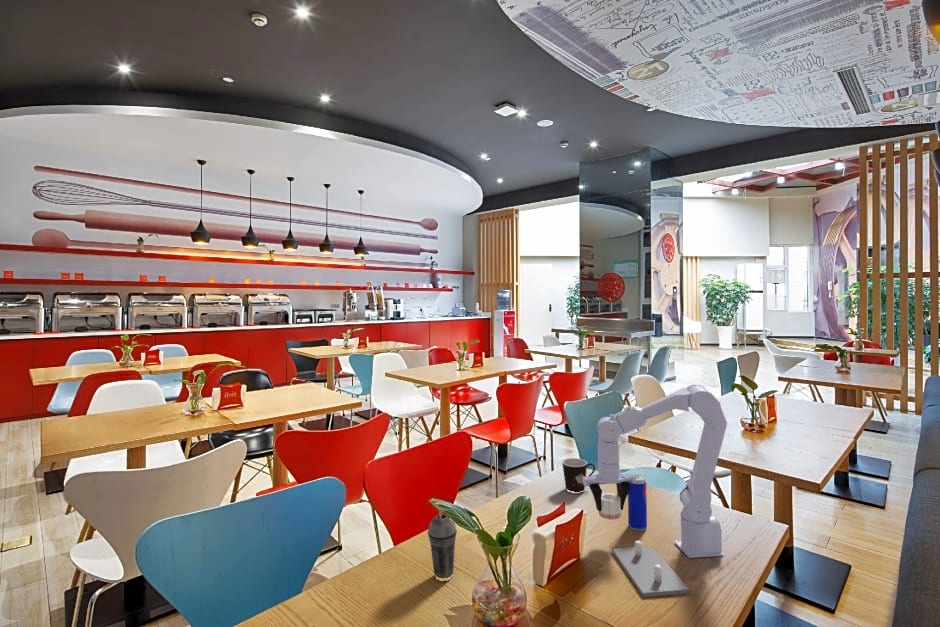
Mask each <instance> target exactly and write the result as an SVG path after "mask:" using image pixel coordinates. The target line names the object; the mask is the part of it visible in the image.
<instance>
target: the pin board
mask: <svg viewBox="0 0 940 627" xmlns="http://www.w3.org/2000/svg"><path fill="white" fill-rule="evenodd" d="M611 552H612V554H613V555H614V557H615V558H616V560H617V561H618V563H619V565H621V567H622V569H623V570H624V572H625V573H626V574H627V577H629V579H630V580H631V582H632V583H633V584H634V585H633V586H635V588H636V589H637V591H638V592H639V593H640V595H641V596H642V598H647V597H648V598H651V597H652V598H653V597H660V596H661V597H662V596H663V597H664V596H674V595H686V594H687V595H688V594H690V588H689V587H688V586H687V585H686V584H685V583H684V581H683V580H682V579H681V578H680V577H679V576H678V575H677V573H676V572H675V570H673V569H672V568H671V566H670V565H669V564H668V563H667V562H666V561H665V559H663V557H662V556H661V555H660V554H659V552H658V551H657V550H656V549H655V548H654V547H653V546H652V545H648V546H642V542H641V541H640V540H635V541H634V546H633V547H622V548H621V547H620V548H612V549H611Z"/></svg>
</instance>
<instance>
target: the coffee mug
mask: <svg viewBox="0 0 940 627" xmlns="http://www.w3.org/2000/svg"><path fill="white" fill-rule="evenodd" d="M561 463H562V470H563V476H564V483H565V484H564V485H565V489H566V488H567V489H568V490H570V491H574V492H580V491H583V490H584V489H585V488H586V486H584V485H583V477H587V468H588V467H589V466H592V471H591V473H589V475H588V476H592V475H594V473H595V471H596V466H595V465H594V464H593V463H588V461H586V459H585V460H584V459H581V458H577V457H576V458H575V457H573V458H572V457H571V458H565V459H563V460H562V462H561ZM584 491H585V490H584Z"/></svg>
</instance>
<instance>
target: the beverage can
mask: <svg viewBox="0 0 940 627" xmlns="http://www.w3.org/2000/svg"><path fill="white" fill-rule="evenodd" d="M633 475H634V476H635V477H636V483H629V485H630V486H631V490H630V491H629V493H628V495H627V509H628V512H627V513H628V514H627V515H628V516H627V518H628V525H629V527H630V528H631V529H632V530H634V529H635V531H639V530H640V531H644V530H646V528H648V525H647V524H648V516H647V515H648V514H647V513H648V512H647V506H648V505H647V480H646V477H645V476H644V475H641V474H635V473H634V474H633Z"/></svg>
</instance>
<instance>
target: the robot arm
mask: <svg viewBox="0 0 940 627" xmlns="http://www.w3.org/2000/svg"><path fill="white" fill-rule="evenodd" d="M721 406H722V405H721V402H720V401H719V400H718V399H717V398H716V397H715V396H714V394H712V393H711V392H709V391H708V390H707V388H705V387H704V386H702V385H701V384H691V385H689V386H687V387H683V388H680V389H678V390H675V391H674V392H671V393H669V394H667V395H666V396H664V397H661V398H659V399H657V400H655V401H653V402H650V403H649V404H647V405H645V406H643V407H638V406H635V405H633V406H631V405H628V406H625V409H623V410H622V411H620V412H617V413H616V414H614V413H610V414H609V416H604V417H601V418H600V419H599V420H598V422H597V425H596V429H597V435H598V438H597V443H598V444H597V462H598V463H597V467H598V468H597V470H598V474H592V475H591V476H589V475H586V477H583V485H584V486H585V487H589V490H590V492H591V493H592V495H593V498H594V502H595V507H596V510H597V511H598V512H599V511H601V509H602V507H601V495H602V493H603V489H602V488H601V486H600V485H610V484H611V485H612V484H616V495H618V496H619V497H620V498H621V511H623V510H624V506H625V504H626V503H625V502H626V499H627V498H628V493H629V491H630V490H631V486H630V485H629V483H636V477H635V476H634V474H633V473H621V472H620V446H619V438H620V436H621V435H625V434H628V433H630V432H633V431H635V430H637V429H640V428H642V427H644V426H645V425H646V423H647V420H649V419H652V418H654V417H655V418H656V417H657V416H659V415H663V414H666V413H669V412H670V411H673V410H679V411H682V412H683V411H684V412H690V409H689V408H691V410H692V411H693V412H694V413H695V414H696V415H698V416H699V417H700V418H701V420H702V421H703V423H704V424H703V428H702V432H701V435H700V440H699V444H698V448H697V452H696V455H695V460H694V463H693V467H692V471H691V476H690V478H689V479H688V480H687V481H686V483H685V486H684V487H683V489H681V491H680V492H679V501H680V502H681V505H682V506H683V508H682V510H681V512H680V540H674V544H675V545H676V546H677V547H678V548H679V549H680V550H681V551H682V552H683V553H684V554H685V555H686V556H687V557H688V558H690V559H695V558H708V557H709V558H710V557H722V556H724V552H722V549H723V548H722V547H723V545H722V544H723V542H722V541H723V540H722V539H723V538H722V535H723V534H722V527H721V524H720V521H719V520H718V518H717V517H716V516H715V515H713V512H712V506H711V502H712V489H711V487H712V483H713V479H714V476H715V472H716V469H717V465H718V460H719V456H720V452H721V449H722V444H723V442H724V441H723V440H724V437H725V433H726V430H727V426H728V421H727V420H726V417H725V414H724V411H723V409H722V407H721Z"/></svg>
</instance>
